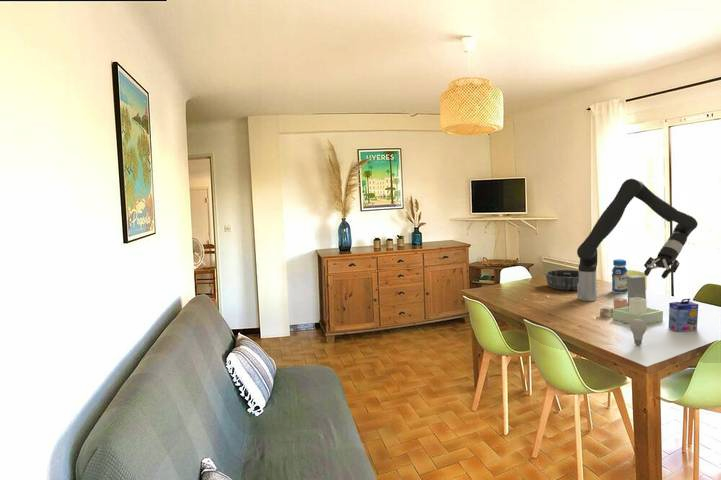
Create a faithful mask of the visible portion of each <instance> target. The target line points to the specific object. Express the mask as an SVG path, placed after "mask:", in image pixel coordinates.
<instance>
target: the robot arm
mask: <svg viewBox="0 0 721 480" xmlns="http://www.w3.org/2000/svg"><path fill="white" fill-rule="evenodd" d="M634 197H635V198H636V199H637V200H640V201H642V202H643V203H644V204H645V205H647V207H648V208H650V210H652V211H653V212H654V213H655V214H657V215H658V216H660V217H661V218H662V219H664V220H665V221H666V222H667V223H668V222H669V223H672V222H675V223H677V224H676V225H675V227H674V229H673V231H672V233H671V234H670V235H669V237H668V239H667V240H666V242H664V244H663V245H662V247H661V248H660V250H659V252H658V253H657V257H655V258H653V257H652V256H649V258H648V259H647V260H646V261H645V263H644V264H643V266H644V268H645V270H644V272H643V274H644V276H645V277H648V276H649V275H650V273H651V271H652V270H655V269H658V268H661V269H665V270H664V271H663V272H662V274H661V276H660V277H661V278H662V279H667V278H668V276H669V275H670V274H671V273H673V274H674V273H676V271H677V270H678V268H679V266H680V264H681V263H680V262H679V260H678V259H677V258H678V256H679V255H680V253H681V252H682V250H683V247H684V246H685V244H686V243H687V241H688V237H689V236H690V235H691V233H692V232H693V231H694V230H696V228H697V227H698V225H699V224H698V221H697V220H696V218H695V217H693V216H692V215H689V214H687V213H684V212H682V211H680V210H678V209H677V208H675V207H674V206H673V205H671V204H669V203H668V202H666V201H665V200H663V199H662V198H661V197H659V196H658V195H656V194H655V193H654V192H652V191H651V190H650V189H649V188H648V187H647V186H646V185H645V184H644V183H643V182H642V181H641V180H640V179H638V178H628V179H626V180H625V181H623V182H622V184H621V186H620V188H619V190H618V191H617V193H616V194H615V196H614V199H613V200H612V201H611V202H610V204H609V205H607V207H606V208H605V210H604V211H603V212H602V213H601V215H600V217H598V219H597V220H596V222H595V224H594V226H593V228H592V230H591V231H590V233H589V234H588V236H587V237H586V238H585V239H584V240H583V242H582V243H581V244H580V245H579V246H578V248H577V250H576V254H577V257H578V258H579V264H578V271H579V283H577V290H576V293H577V294H576V297H577V299H578V300H579V301H583V302H595V301H597V267H598V248H599V246H600V245H601V243H602V242H603V241H604V240H605V239H606V238H607V237H608V236H609V235H610V234H611V233H612V232H613V231H614V229H615V228H616V226H617V225H618V224H619V223H620V221H621V219H622V217H623V215H624V213H625V211H626V208H627V207H628V205H629V204H630V202H631V201H632V200H633V199H634Z"/></svg>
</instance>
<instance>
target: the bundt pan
mask: <svg viewBox="0 0 721 480" xmlns="http://www.w3.org/2000/svg"><path fill="white" fill-rule="evenodd" d="M544 274H545V277H546V283H547V285H548V286H550V287H551V288H553V289H555V290H561V291H565V290H566V291H569V290H571V291H577V283H579V270H575V269H554V270H547V271H545V273H544Z"/></svg>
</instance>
